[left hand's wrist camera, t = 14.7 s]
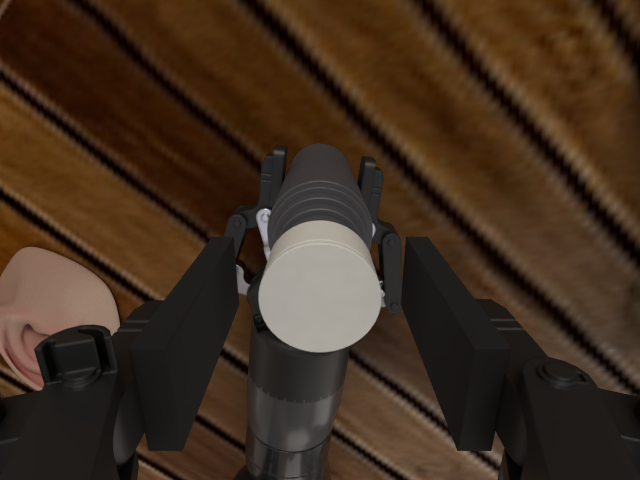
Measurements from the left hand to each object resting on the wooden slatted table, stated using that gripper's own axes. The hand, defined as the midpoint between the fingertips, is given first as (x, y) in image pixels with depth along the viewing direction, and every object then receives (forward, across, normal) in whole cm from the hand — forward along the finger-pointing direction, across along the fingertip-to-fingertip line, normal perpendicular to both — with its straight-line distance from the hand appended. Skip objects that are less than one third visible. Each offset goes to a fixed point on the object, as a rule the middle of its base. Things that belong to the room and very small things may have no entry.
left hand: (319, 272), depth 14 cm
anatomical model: (+19, +24, +13) cm, 33 cm away
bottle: (+19, 0, 0) cm, 19 cm away
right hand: (+12, 0, -3) cm, 12 cm away
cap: (-2, 0, 0) cm, 2 cm away
